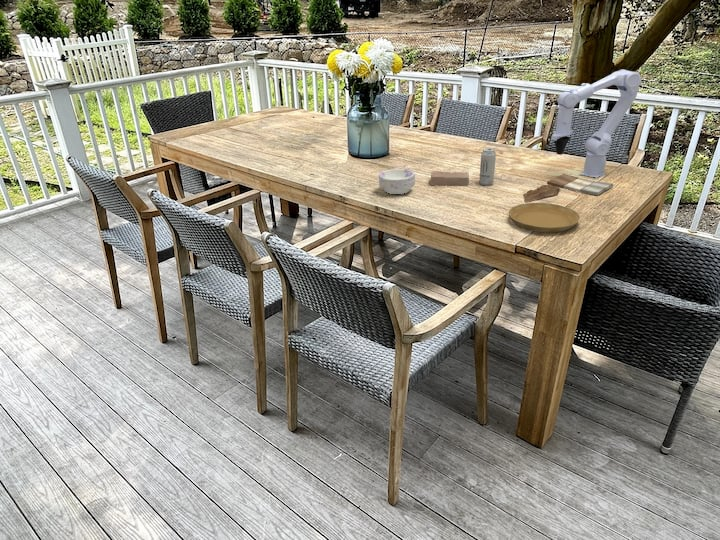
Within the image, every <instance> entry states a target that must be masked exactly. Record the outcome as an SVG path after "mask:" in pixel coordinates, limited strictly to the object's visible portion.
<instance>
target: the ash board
mask: <svg viewBox="0 0 720 540" xmlns="http://www.w3.org/2000/svg"><path fill="white" fill-rule="evenodd" d="M594 182H596V180H592V179H588V178H582V177H578V179H576V180H574V181H572V182H570V183H568V184H566V185H564V186H563V188H562V189H564V190H567V189H568V191H571V190H572V191H571V192H576V191H577V192H576V193H580V191H581V189H583V188H585V187H587V186H588V185H590V184H592V183H594Z"/></svg>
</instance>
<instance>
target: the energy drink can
mask: <svg viewBox="0 0 720 540" xmlns="http://www.w3.org/2000/svg"><path fill="white" fill-rule="evenodd" d="M496 157H497V153H496V150H495V148H493V147H492V148H491V147H489V148H488V147H487V148H483V150H482V152H481V154H480V164H479V165H480V167H479V179H478V182H479V184H480V185H481V186H484V187H489V186H493V183H494V181H495V169H496Z"/></svg>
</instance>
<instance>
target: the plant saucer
mask: <svg viewBox="0 0 720 540" xmlns="http://www.w3.org/2000/svg"><path fill="white" fill-rule="evenodd" d="M508 215H509V218H510V219H511V220H512V222H513V223H514V224H515V225H517V226H518V227H521V228H523V229H525V230H528V231H532V232H535V233H536V232H537V233H558V232H559V233H560V232H564V231H567V230H569V229H571V228H573V227H574V226H575V225H577V224H578V223H579V221H580V219H581V215H580V214H579V213H578V212H577V211H576V210H574V209H572V208H570V207H567V206H563V205H560V204H555V203H550V202H549V203H548V202H526V203H520V204H517V205H514V206H513V207H511V208H510V209H509V210H508Z"/></svg>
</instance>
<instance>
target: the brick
mask: <svg viewBox="0 0 720 540" xmlns="http://www.w3.org/2000/svg"><path fill="white" fill-rule="evenodd" d="M469 176H470V174H469V172H468V171H463V172H462V171H453V172H449V171H439V170H432V171H431V173H430V185H431V186H434V185H441V186H440V187H468V185H470V177H469ZM442 185H443V186H442ZM446 185H447V186H446Z"/></svg>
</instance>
